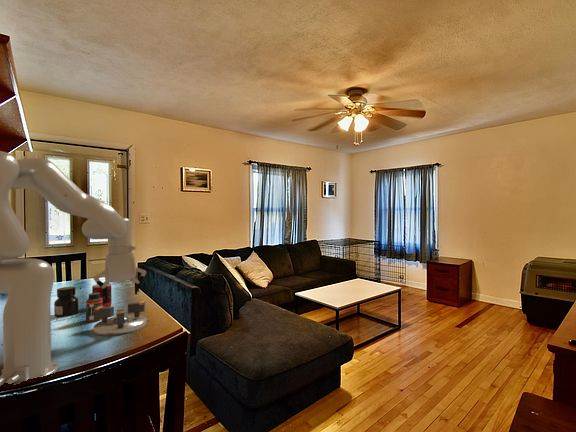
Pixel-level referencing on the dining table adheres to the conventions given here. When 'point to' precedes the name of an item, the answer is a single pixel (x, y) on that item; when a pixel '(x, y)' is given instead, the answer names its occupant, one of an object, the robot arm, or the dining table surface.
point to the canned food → (99, 289)
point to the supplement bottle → (93, 306)
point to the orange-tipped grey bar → (104, 313)
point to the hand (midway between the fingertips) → (121, 295)
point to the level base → (112, 327)
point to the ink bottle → (66, 302)
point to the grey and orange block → (136, 308)
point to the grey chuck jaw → (120, 317)
